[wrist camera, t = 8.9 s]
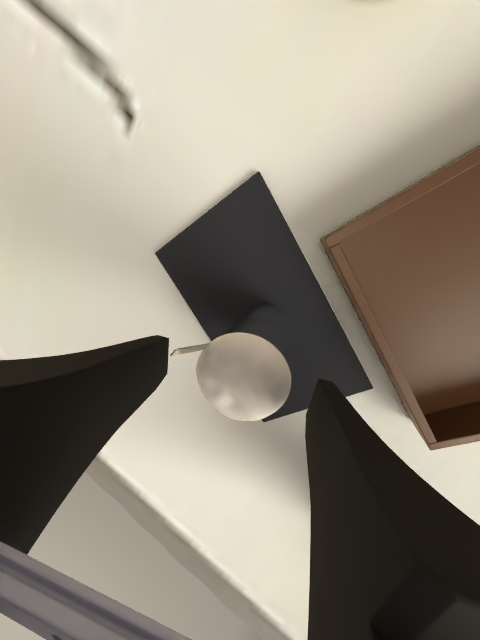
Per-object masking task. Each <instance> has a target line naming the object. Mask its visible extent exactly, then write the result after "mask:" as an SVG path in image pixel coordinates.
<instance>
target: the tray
mask: <svg viewBox="0 0 480 640" xmlns="http://www.w3.org/2000/svg"><path fill="white" fill-rule="evenodd" d="M320 241H321V243H322V245H323V247H324V249H325V251H326V253H327V255H328V257H329V259H330V261H331V263H332V265H333V267H334V269H335V271H336V273H337V275H338V277H339V279H340V281H341V283H342V285H343V287H344V289H345V291H346V293H347V294H348V296H349V298H350V300H351V302H352V304H353V306H354V308H355V310H356V312H357V314H358V316H359V318H360V320H361V322H362V324H363V326H364V328H365V330H366V332H367V334H368V336H369V338H370V340H371V342H372V344H373V346H374V348H375V350H376V352H377V354H378V356H379V358H380V360H381V362H382V364H383V366H384V368H385V370H386V371H387V373H388V375H389V377H390V379H391V381H392V383H393V385H394V387H395V389H396V391H397V393H398V395H399V397H400V399H401V401H402V403H403V405H404V407H405V409H406V411H407V413H408V415H409V417H410V419H411V421H412V422H413V424H414V425H415V427H416V429H417V430H418V432H419V433H420V435H421V436H422V438H423V439H424V441H425V443H426V444H427V446H428V447H429V449H430V450H436V449H441V448H446V447H451V446H456V445H461V444H466V443H471V442H477V441H480V145H479V146H478V147H476V148H474V149H473V150H471V151H469V152H468V153H466V154H464V155H462V156H461V157H459V158H457V159H456V160H454V161H452V162H451V163H449V164H447V165H446V166H444V167H442V168H440V169H439V170H437V171H435V172H434V173H432V174H430V175H429V176H427V177H425V178H424V179H422V180H420V181H418V182H417V183H415V184H413V185H412V186H410V187H408V188H407V189H405V190H403V191H401V192H400V193H398V194H396V195H395V196H393V197H391V198H390V199H388V200H386V201H385V202H383V203H381V204H379V205H378V206H376V207H374V208H373V209H371V210H369V211H368V212H366V213H364V214H363V215H361V216H359V217H357V218H356V219H354V220H352V221H351V222H349V223H347V224H346V225H344V226H342V227H340V228H339V229H337V230H335V231H334V232H332V233H330V234H329V235H327V236H325V237H324V238H322V239H320Z"/></svg>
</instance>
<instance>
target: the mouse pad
mask: <svg viewBox="0 0 480 640" xmlns="http://www.w3.org/2000/svg"><path fill="white" fill-rule="evenodd" d="M155 254H156V256H157V257H158V259H159V260H160V262H161V264H162V265H163V267H164V268H165V270H166V271H167V273H168V274H169V276H170V278H171V279H172V281H173V282H174V284H175V285H176V287H177V288H178V290H179V292H180V293H181V295H182V296H183V298H184V299H185V301H186V302H187V304H188V306H189V307H190V309H191V310H192V312H193V313H194V315H195V316H196V318H197V319H198V321H199V323H200V324H201V326H202V327H203V329H204V330H205V332H206V333H207V335H208V337H209V338H210V340H211V341H213V340H214V339H215V338H216V337H218V336H219V335H220V334H221V333H223V332H224V331H225V330H226V329H228V328H229V327H230V326H231V325H232V324H233V323H234V322H236V321H237V320H238V319H239V318H240V317H241V316H242V315H243V314H244V313H246V312H247V311H248V310H249V309H250V308H252V307H255V306H257V305H259V304H261V303H262V304H268V305H273V306H275V307H276V308H277V309H278V310H279V311H280V312H281V313H282V314H283V315H284V323H285V332H286V347H287V353H288V360H289V367H290V373H291V388H290V392H289V395H288V397H287V399H286V401H285V403H284V404H283V405H282V406H281V407H280V408H279V409H278V410H277V411H276V412H274V413H273V414H271V415H269V416H267V417H265V418H263V419H262V421H263V422H266V421H269V420H272V419H276V418H279V417H282V416H285V415H289V414H292V413H295V412H298V411H302V410H305V409H308V408H309V405H310V402H311V399H312V396H313V393H314V390H315V387H316V384H317V381H318V378H320V379H324V380H327V381H331V382H333V383H334V384H335V385H336V386H337V387H338V389H339V390H340V391H341V392H342V394H343V395H344V396H345V397H347V396H350V395H353V394H356V393H360V392H363V391H366V390H369V389H373V387H372V385H371V383H370V381H369V379H368V377H367V375H366V373H365V371H364V370H363V368H362V366H361V364H360V362H359V360H358V358H357V356H356V354H355V352H354V351H353V349H352V347H351V345H350V343H349V341H348V339H347V337H346V335H345V333H344V332H343V330H342V328H341V326H340V324H339V322H338V320H337V318H336V316H335V314H334V313H333V311H332V309H331V307H330V305H329V303H328V301H327V299H326V297H325V295H324V293H323V292H322V290H321V288H320V286H319V284H318V282H317V280H316V278H315V276H314V274H313V273H312V271H311V269H310V267H309V265H308V263H307V261H306V259H305V257H304V255H303V254H302V252H301V250H300V248H299V246H298V244H297V242H296V240H295V238H294V236H293V235H292V233H291V231H290V229H289V227H288V225H287V223H286V221H285V219H284V217H283V216H282V214H281V212H280V210H279V208H278V206H277V204H276V202H275V200H274V198H273V196H272V195H271V193H270V191H269V189H268V187H267V185H266V183H265V181H264V179H263V177H262V176H261V174H260V172H257V173H256V174H255V175H253V176H252V177H251V178H250V179H248V180H247V181H246V182H245V183H243V184H242V185H241V186H240V187H238V188H237V189H236V190H234V191H233V192H232V193H231V194H229V195H228V196H227V197H226V198H224V199H223V200H222V201H220V202H219V203H218V204H217V205H215V206H214V207H213V208H212V209H210V210H209V211H208V212H207V213H205V214H204V215H203V216H201V217H200V218H199V219H198V220H196V221H195V222H194V223H193V224H191V225H190V226H189V227H187V228H186V229H185V230H184V231H182V232H181V233H180V234H179V235H177V236H176V237H175V238H174V239H172V240H171V241H170V242H168V243H167V244H166V245H165V246H163V247H162V248H161V249H160V250H158V251H157V252H156V253H155Z"/></svg>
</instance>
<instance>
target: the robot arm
mask: <svg viewBox="0 0 480 640" xmlns="http://www.w3.org/2000/svg"><path fill="white" fill-rule="evenodd" d="M168 348H169V338H166V337H163V336H159V335H156V336H150V337H145V338H141V339H137V340H133V341H129V342H125V343H121V344H117V345H112V346H108V347H103V348H99V349H94V350H90V351H84V352H79V353H72V354H66V355H59V356H50V357H40V358H30V359H18V360H0V613H2V614H4V615H5V616H7V617H9V618H11V619H12V620H14V621H16V622H17V623H19V624H21V625H23V626H24V627H26V628H28V629H29V630H31V631H33V632H35V633H36V634H38V635H40V636H41V637H43V638H45V639H46V640H192V639H190V638H188V637H186V636H184V635H182V634H180V633H178V632H176V631H174V630H172V629H170V628H168V627H166V626H164V625H162V624H160V623H158V622H157V621H154V620H153V619H151V618H149V617H147V616H145V615H143V614H141V613H139V612H137V611H135V610H133V609H131V608H129V607H127V606H125V605H123V604H121V603H119V602H118V601H116V600H114V599H112V598H110V597H108V596H106V595H104V594H102V593H100V592H98V591H96V590H94V589H92V588H90V587H88V586H86V585H84V584H82V583H80V582H78V581H76V580H75V579H73V578H71V577H68V576H67V575H65V574H63V573H61V572H59V571H57V570H55V569H53V568H51V567H49V566H47V565H45V564H43V563H41V562H39V561H37V560H36V559H33V558H32V557H30V556H28V555H27V554H28V553H29V551H30V549H31V548H32V546H33V545H34V543H35V542H36V540H37V539H38V537H39V536H40V534H41V533H42V531H43V530H44V528H45V527H46V525H47V524H48V522H49V521H50V519H51V518H52V516H53V515H54V513H55V512H56V510H57V509H58V507H59V506H60V504H61V503H62V502H63V500H64V499H65V498H66V496H67V495H68V493H69V492H70V491H71V489H72V488H73V486H74V485H75V483H76V482H77V481H78V479H79V478H80V477H81V475H82V474H83V473H84V471H85V470H86V469H87V467H88V466H89V465H90V463H91V462H92V461H93V459H94V458H95V457H96V455H97V454H98V453H99V452H100V450H101V449H102V448H103V447H104V445H105V444H106V443H107V442H108V440H109V439H110V438H111V437H112V435H113V434H114V433H115V432H116V431H117V430H118V429H119V427H120V426H121V425H122V424H123V423H124V422H125V421H126V420H127V419H128V418H129V417H130V416H131V415H132V414H133V413H134V412H135V411H136V410H137V409H138V408H139V407H140V406H141V404H142V403H143V402H144V401H145V400H146V399H147V398H148V397H149V396H150V395H151V394H152V393H153V392H154V391H155V390H156V388H157V387H158V386H159V384H160V383H161V382H162V380H163V379H164V377H165V376H166V374H167V369H168ZM305 439H306V452H307V463H308V475H309V486H310V502H311V544H310V589H309V621H308V640H480V525H478V524H477V523H476V522H474V521H473V520H472V519H470V518H469V517H468V516H467V515H465V514H464V513H463V512H462V511H460V510H459V509H458V508H457V507H455V506H454V505H453V504H452V503H450V502H449V501H448V500H447V499H446V498H444V497H443V496H442V495H441V494H440V493H438V492H437V491H436V490H435V489H434V488H433V487H431V486H430V485H429V484H428V483H427V482H426V481H424V480H423V479H422V478H421V477H420V476H419V475H418V474H417V473H415V472H414V471H413V470H412V469H411V468H410V467H409V466H408V465H407V464H406V463H405V462H404V461H403V460H401V459H400V458H399V457H398V456H397V455H396V454H395V453H394V452H393V451H392V450H391V449H390V448H389V447H388V446H387V445H386V444H385V443H384V442H383V441H382V440H381V439H380V437H379V436H378V435H377V434H376V433H375V432H374V431H373V430H372V429H371V428H370V427H369V425H368V424H367V423H366V422H365V421H364V420H363V418H362V417H361V416H360V415H359V414H358V412H357V411H356V410H355V409H354V408H353V406H352V405H351V404H350V403H349V401H348V400H347V399H346V397H345V396H344V395H343V394H342V392H341V391H340V390H339V389H338V387H337V386H336V385H335V384H334V383H333V382H331V381H327V380H324V379H320V378H318V381H317V384H316V387H315V390H314V393H313V396H312V399H311V402H310V405H309V408H308V411H307V414H306V430H305Z"/></svg>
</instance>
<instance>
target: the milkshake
mask: <svg viewBox="0 0 480 640" xmlns="http://www.w3.org/2000/svg"><path fill="white" fill-rule="evenodd" d="M200 350H203V351H202V353H201V355H200V357H199V359H198V362H197V367H196V372H197V379H198V383H199V386H200V389H201V391H202V393H203V395H204V396H205V397H206V399H207V400H208V401H209V402H210V403H211V404H212V405H213V406H214V407H215V408H216V409H217V410H218V411H219V412H221V413H222V414H223V415H225V416H227V417H229V418H231V419H234V420H240V421H256V420H260V419H263V418H265V417H267V416H269V415H271V414H273V413H274V412H276V411H277V410H278V409H279V408H280V407H281V406H282V405H283V404H284V403H285V401H286V399H287V397H288V395H289V392H290V388H291V373H290V367H289V360H288V353H287V347H286V332H285V323H284V315H283V314H282V313H281V312H280V311H279V310H278V309H277V308H276V307H275V306H273V305H268V304H262V303H261V304H259V305H257V306H255V307H252V308H250V309H249V310H248V311H247V312H246V313H244V314H243V315H242V316H241V317H240V318H239V319H238V320H237V321H236V322H234V323H233V324H232V325H231V326H230V327H229V328H228V329H226V330H225V331H224V332H223V333H221V334H220V335H219V336H218V337H216V338H215V339H214V340H213V341H211V342H210V343H208V344H202V345H196V346H190V347H184V348H179V349H176V350H174V352H173V353H172V354H171V355H170V356H175V355H180V354H185V353H190V352H195V351H200Z"/></svg>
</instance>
